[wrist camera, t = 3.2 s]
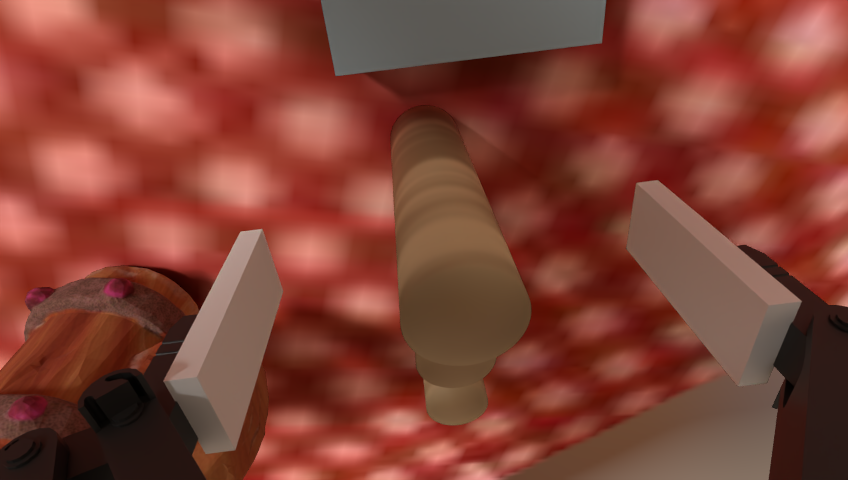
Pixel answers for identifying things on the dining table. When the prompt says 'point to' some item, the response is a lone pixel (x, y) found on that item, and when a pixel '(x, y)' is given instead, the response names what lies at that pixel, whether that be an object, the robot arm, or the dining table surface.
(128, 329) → the mug
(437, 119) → the dowel long
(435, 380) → the dowel medium
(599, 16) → the hole block
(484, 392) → the dowel short
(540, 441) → the dining table surface
